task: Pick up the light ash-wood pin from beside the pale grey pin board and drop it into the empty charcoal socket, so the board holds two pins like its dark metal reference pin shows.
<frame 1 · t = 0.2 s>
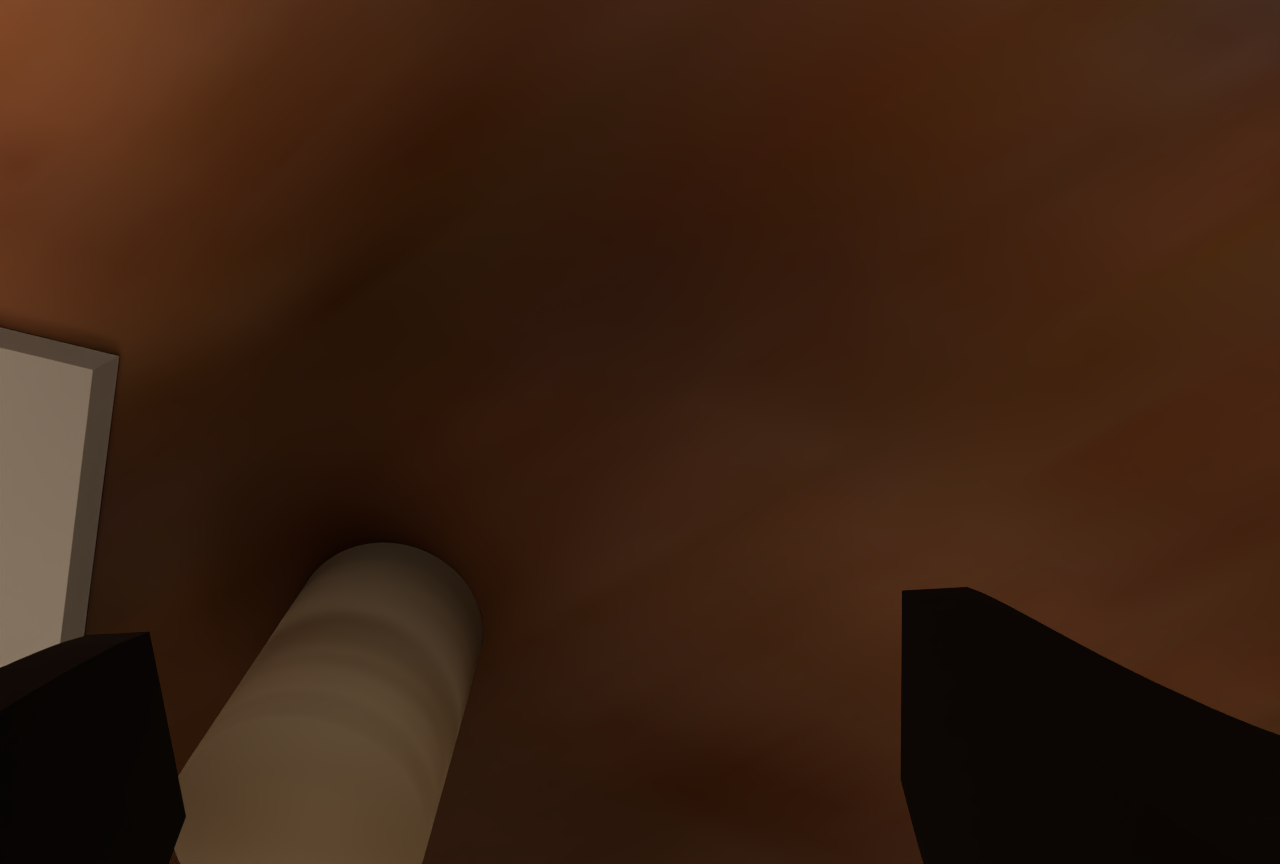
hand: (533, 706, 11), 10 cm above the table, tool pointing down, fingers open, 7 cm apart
wooden pin: (389, 629, 21), on the table
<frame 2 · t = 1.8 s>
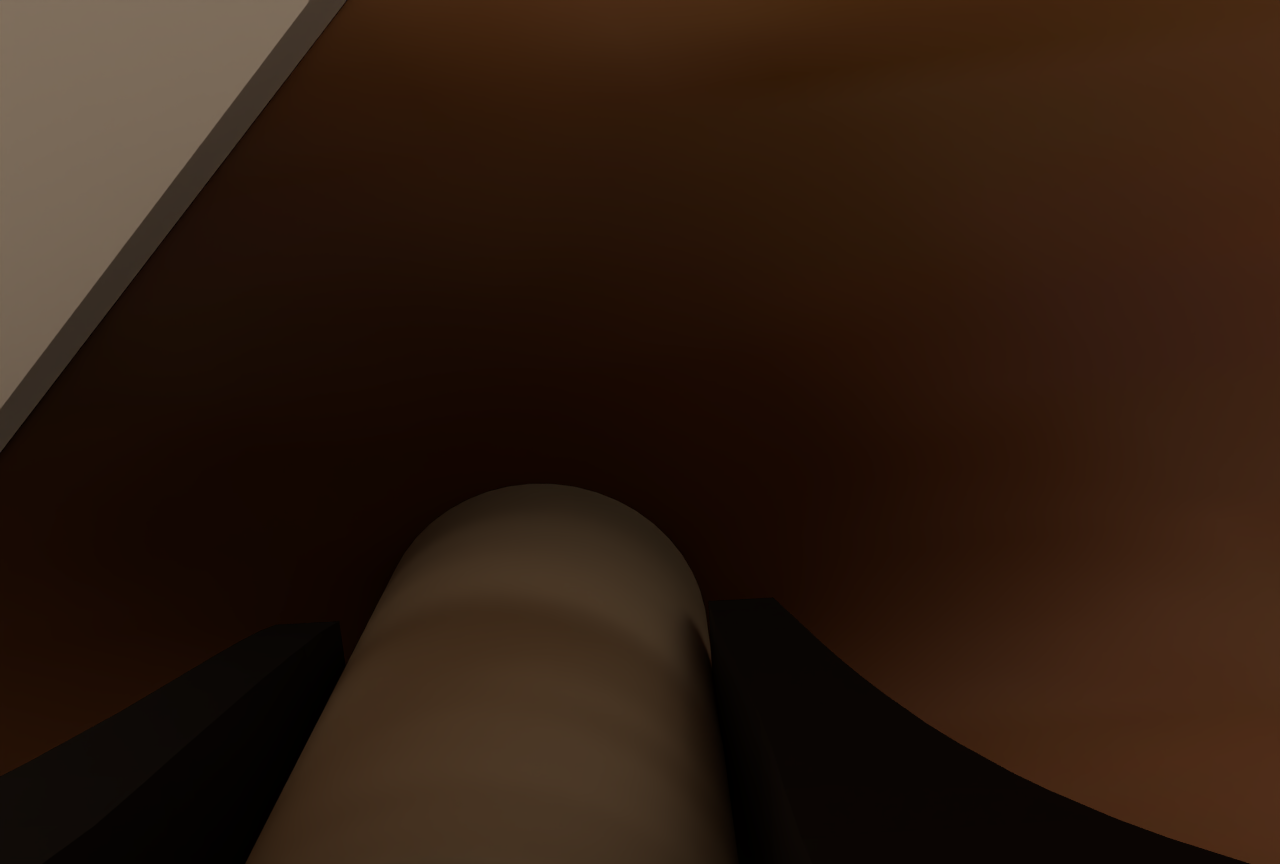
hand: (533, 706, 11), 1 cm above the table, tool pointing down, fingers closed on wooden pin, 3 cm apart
wooden pin: (544, 637, 12), on the table, touching gripper
when the fingers open (4 cm above the table, at t = 5.3 s): wooden pin drops 1 cm, resting on pin board.
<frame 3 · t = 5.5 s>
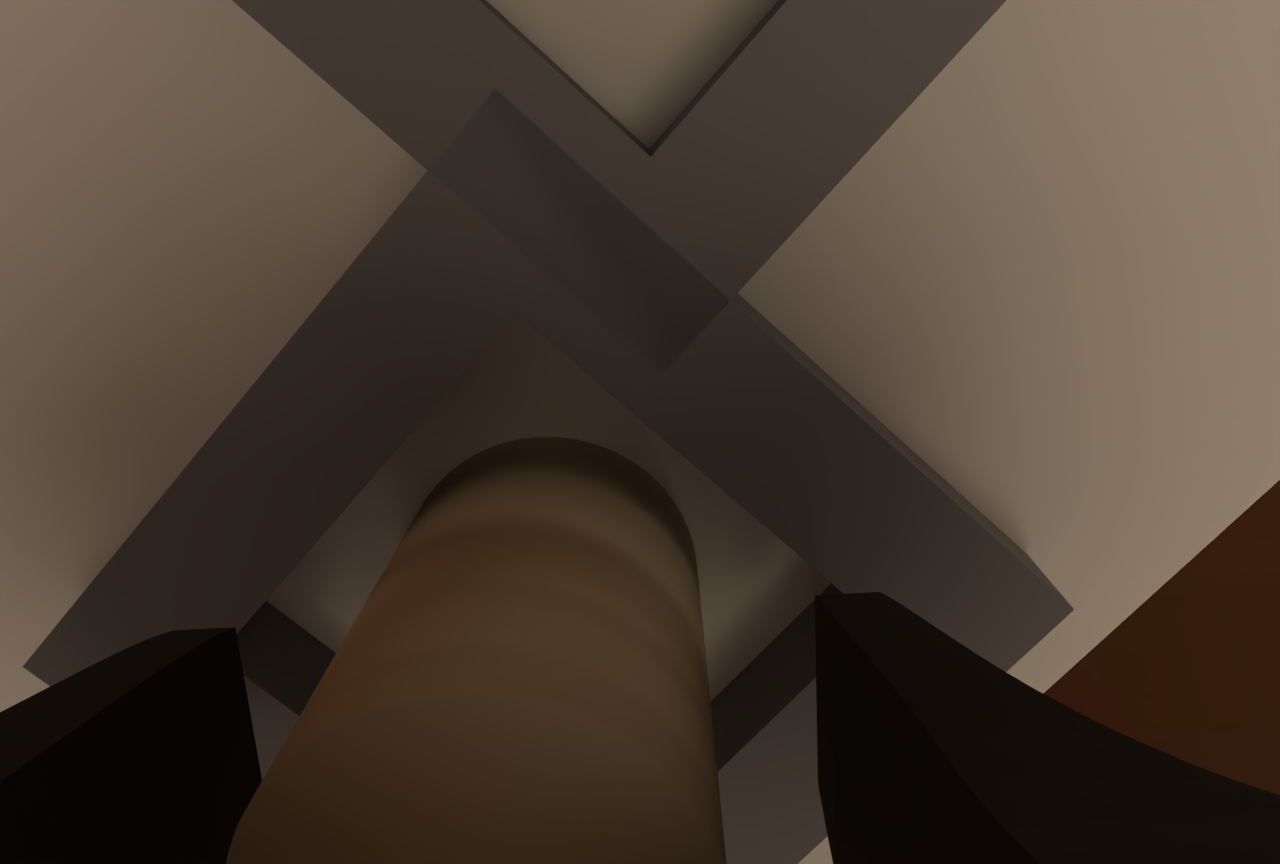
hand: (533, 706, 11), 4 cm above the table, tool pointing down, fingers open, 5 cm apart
pin board: (541, 332, 14), on the table
wooden pin: (550, 577, 14), point 1 cm above the table, touching pin board
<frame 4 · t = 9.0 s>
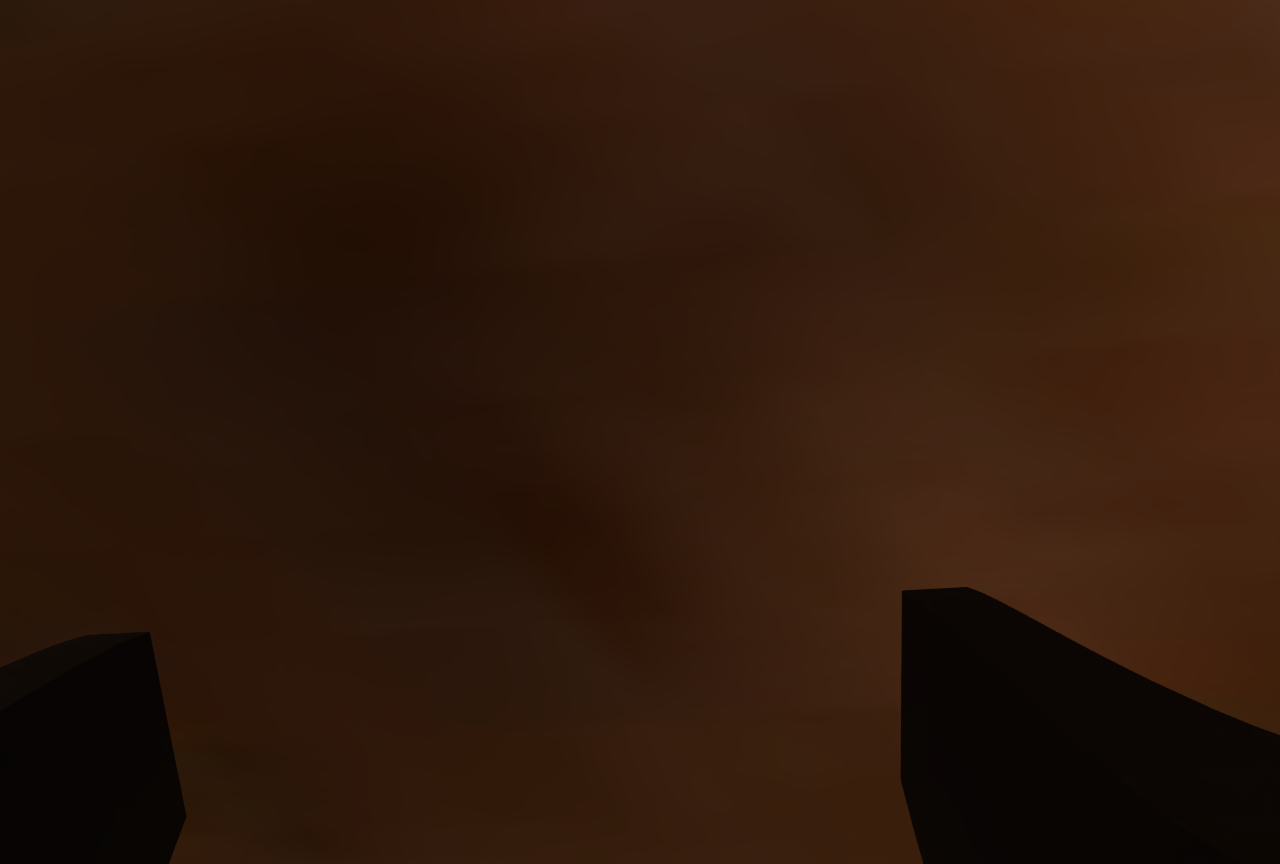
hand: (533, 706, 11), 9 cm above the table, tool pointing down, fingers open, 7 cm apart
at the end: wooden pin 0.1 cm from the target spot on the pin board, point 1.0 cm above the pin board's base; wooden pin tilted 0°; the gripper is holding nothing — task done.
